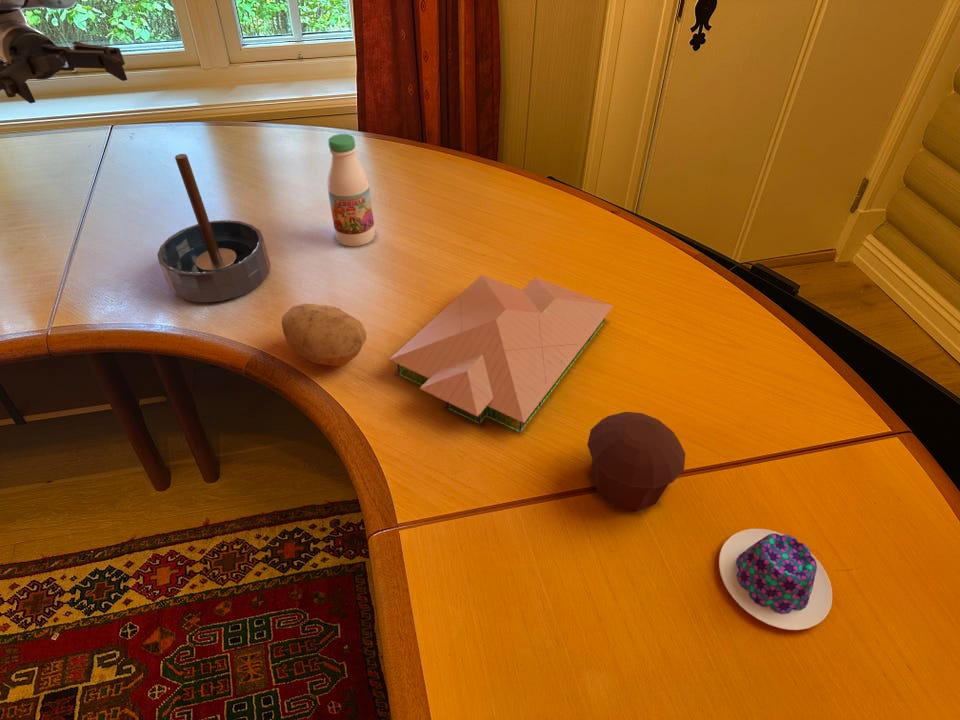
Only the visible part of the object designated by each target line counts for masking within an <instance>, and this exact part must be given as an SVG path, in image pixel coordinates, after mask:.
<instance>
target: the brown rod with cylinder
mask: <svg viewBox="0 0 960 720" xmlns="http://www.w3.org/2000/svg"><path fill="white" fill-rule="evenodd" d="M174 159H175V162H176V166H177V168H178V171H179V173H180V177H181V180H182V182H183V185H184V188H185V191H186V193H187V197H188V199H189V203H190V204H191V208H192V211H193V214H194V216H195V219H196V222H197V224H198V225H199V228H200V231H201V233H202V236H203V239H204V242H205V245H206V248H207V251H206V252H204V253H202V254H201V255H199V256H198V257H197V259H196V261H195V264H196V267H197V269H198V272H211V271H215V270H219V269H223V268H227V267H230V266H232V265H234V264H237V263H239V261H238V258H237V255H236V253H235V252H234V251H233V250H231V249H227V248H218V246H217V243H216V240H215V237H214V234H213V231H212V228H211V225H210V220H209V216H208V214H207V211H206V207H205V205H204V202H203V199H202V195H201V192H200V190H199V186H198V184H197V180H196V178H195V175H194V172H193V169H192V166H191V163H190V160H189V157H188V154H186V153H179V154H176V155H175V156H174Z"/></svg>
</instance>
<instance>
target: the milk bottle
mask: <svg viewBox="0 0 960 720" xmlns="http://www.w3.org/2000/svg"><path fill="white" fill-rule="evenodd" d="M327 144H328V148H329V153H330V154H331V161H330V165H329V170H328V172H327V177H326V179H327V180H326V183H327V184H326V185H327V191H328V192H327V193H328V194H327V195H328V199H329V206H330V211H331V217H332V221H333V222H332V223H333V228H334V234H335V239H336V240H337V241H338V242H339V243H340V244H341V245H344V246H347V247H359V246H364V245H366V244H369V243H370V242H371V241H373V240H374V238H375V236H376V235H375V234H376V229H375V220H374V213H373V205H372V198H371V190H370V184H369V180H368V176H367V173H366V171H365V169H364V168H363V166H362V165H361V163H360V161H359V160H358V158H357V154H356V150H357V148H356V140H355V138H354V136H353V135H351V134H347V133H339V134H333V135H332V136H330V137H329V138H328V140H327Z"/></svg>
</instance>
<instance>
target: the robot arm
mask: <svg viewBox="0 0 960 720" xmlns="http://www.w3.org/2000/svg"><path fill="white" fill-rule="evenodd" d="M77 2H78V0H0V92H1V91H2V90H3V91H4V94H5V95H6V97H7V98H15V97H16V96H17V95H18V96H20V97H21V98H22V99H23V100H25V101H26V102H27V103H29V104H34V103H36V99H35V98H34V96H33V92H32V91H31V89H30V87H29V85H28V83H27V81H29V80H39V81H42V80H43V81H44V80H49V79H51V78H53V77H55V76H56V75H57V74H58V73H59V72H64V71H66V72H67V71H68V72H73V71H75V70H77V69H104V70H105V72H107V73H108V74H110V75H111V76H113V77H115V78H117V79H118V80H120V81H122V82H125V81H128V77H127V74H126V72H125V69H124V66H125V65H126V62H125V60H124V57H123V54H122V52H121V50H120V49H121V48H119V47H116V46H115V47H113V46H109V45H97V44H88V43H83V42H81V41H73V42H72V43H71V44H72V47H69V46H62V45H61V46H59V45H57V44H56V43H55V41H53V40H52V39H51V38H50V37H49V36H48V35H45V34H44V33H42V32H40V31H39V30H37V29H35V28H34V27H32V26H30V25H29V23H28V21H27V19H26V16H25V14H24V12H23V10H27V9H28V10H29V9H42V8H43V9H49V10H52V11H56V10H68V9H71V8H73V7H74V6H75V5H76V4H77Z"/></svg>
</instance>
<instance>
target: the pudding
mask: <svg viewBox="0 0 960 720" xmlns="http://www.w3.org/2000/svg"><path fill="white" fill-rule="evenodd" d="M718 567H719V574H720V577H721V579H722V582H723V585H724V586H725V588H726V590H727V592H728V593H729V594H730V596H731V597H732V598H733V599H734V601H735V602H736V603H737V604H738V605H739V606H740V607H741V608H742V609H743V610H744V611H745V612H747V613H748V614H750V615H751V616H752V617H754V618H755V619H757V620H759V621H760V622H762V623H764V624H766V625H769V626H771V627H775V628H777V629H782V630H789V631H800V630H806V629H810V628H813V627H815V626H817V625H818V624H820V623H822V622H823V621H824V620H825V619H826V617H827V615H829V613H830V610H831V608H832V603H833V587H832V585H831V584H832V583H831V580H830V578H829V576H828V574H827V572H826V570H825V568H824V567H823V565H822V563H821V562H820V561H819V560H818V559H817V557H816V556H815V555H814V554H813V553H812V551H811V550H810V548H809V547H808V546H807V544H805V543H804V542H800V541H798V540H797V538H796V537H794V536H792V535H790V534H783V533H781V532H778V531H775V530H771V529H765V528H748V529H743V530H741V531H738V532H736V533H734V534H732V535H731V536H730V537H728V539H727V540H725V541H724V543H723V544H722V546H721V549H720V552H719V557H718Z"/></svg>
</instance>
